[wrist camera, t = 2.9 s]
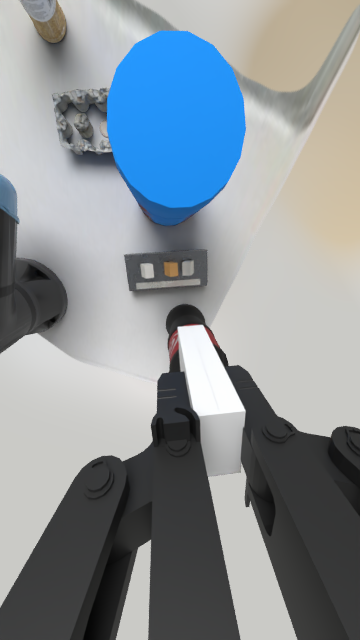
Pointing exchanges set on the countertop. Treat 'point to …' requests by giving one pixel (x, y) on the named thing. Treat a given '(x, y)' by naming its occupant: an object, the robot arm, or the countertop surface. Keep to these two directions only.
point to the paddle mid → (171, 269)
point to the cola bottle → (186, 317)
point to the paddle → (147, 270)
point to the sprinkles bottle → (46, 18)
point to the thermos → (175, 124)
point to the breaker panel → (160, 278)
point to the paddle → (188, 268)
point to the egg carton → (81, 118)
